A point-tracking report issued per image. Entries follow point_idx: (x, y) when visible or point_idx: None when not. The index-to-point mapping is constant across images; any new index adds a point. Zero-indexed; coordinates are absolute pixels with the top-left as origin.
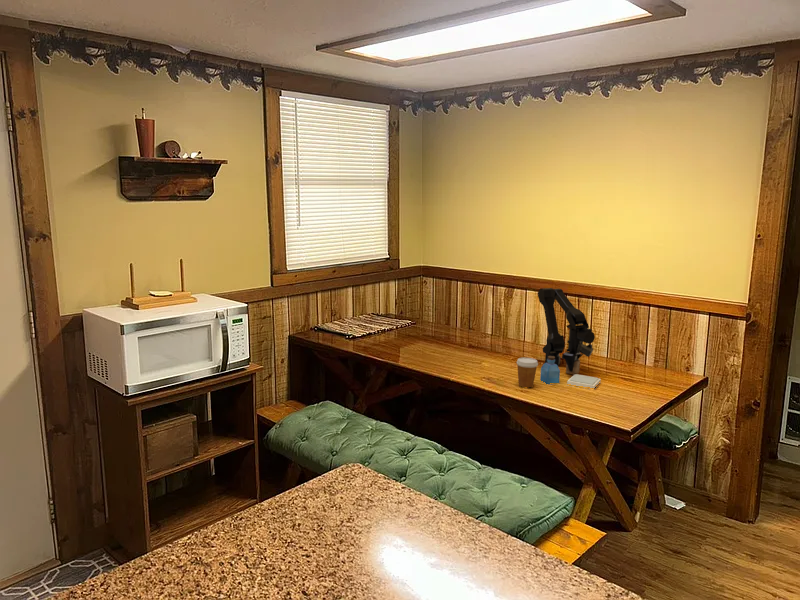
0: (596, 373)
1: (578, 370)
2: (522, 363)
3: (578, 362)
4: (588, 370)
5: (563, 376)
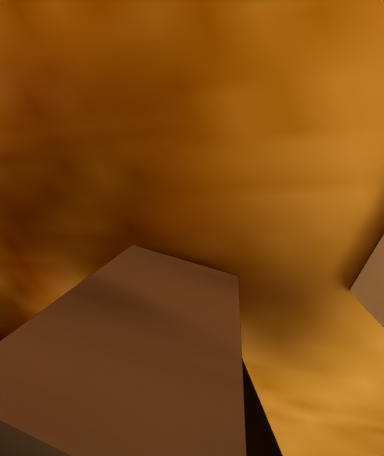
0: (44, 51)
1: (147, 266)
2: None
3: (99, 413)
4: (6, 156)
5: (294, 371)
